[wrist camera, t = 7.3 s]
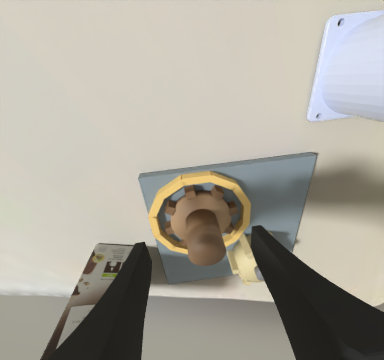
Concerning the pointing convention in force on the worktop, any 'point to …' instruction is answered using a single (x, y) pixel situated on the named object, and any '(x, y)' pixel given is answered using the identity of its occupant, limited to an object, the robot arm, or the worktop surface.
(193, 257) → the planet gear
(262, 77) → the worktop surface
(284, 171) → the carrier plate
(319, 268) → the worktop surface
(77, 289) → the coffee box
